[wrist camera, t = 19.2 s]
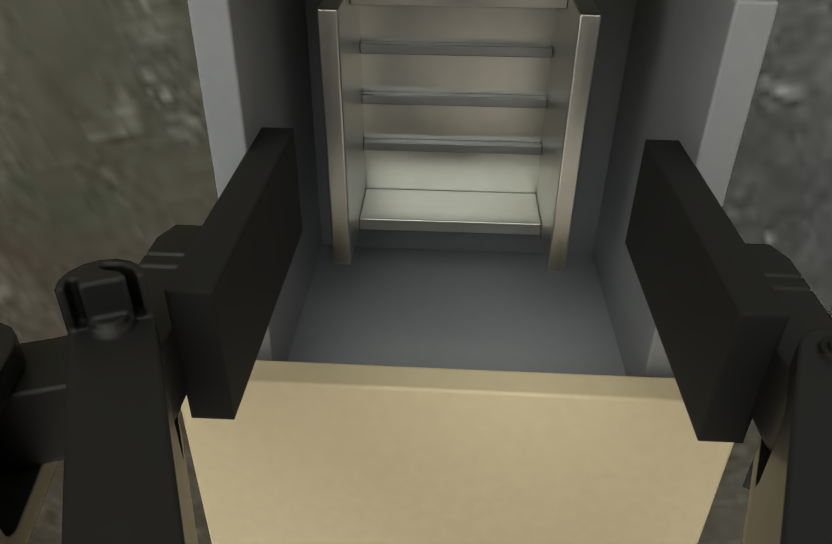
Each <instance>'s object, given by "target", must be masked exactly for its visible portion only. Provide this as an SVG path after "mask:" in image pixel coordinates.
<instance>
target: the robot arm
mask: <svg viewBox="0 0 832 544" xmlns="http://www.w3.org/2000/svg"><path fill="white" fill-rule="evenodd" d="M302 231H303V230H302V219H301V207H300V195H299V184H298V172H297V160H296V148H295V137H294V128H270V127H262V128H261V129H260V131H259V133H258V134H257V136H256V138H255V140H254V141H253V143H252V145H251V146H250V148H249V150H248V151H247V152H246V153H245V155H244V157H243V158H242V160H241V162H240V164H239V165H238V167H237V169H236V170H235V172H234V174H233V175H232V177H231V179H230V180H229V182H228V184H227V185H226V187H225V189H224V190H223V192H222V194H221V195H220V197H219V199H218V200H217V202H216V204H215V205H214V207H213V209H212V211H211V212H210V214H209V216H208V217H207V219H206V221H205V222H204V224H203V226H193V225H175V226H174V227H172V228H171V229H169V230H168V231H166V232H165V233H163V234H162V235H160V236H159V237H157V239H156V240H155V242H154V243H153V245H152V246H151V247H150V249H149V250H148V252H147V255H145V256H144V258H143V259H142V261H141V262H140V264H139V265H137V264H135V263H133V262H131V261H127V260H120V259H109V260H99V261H95V262H91V263H87V264H84V265H81V266H79V267H77V268H75V269H73V270H71V271H69V272H68V273H66V274H65V275H64V276H63V277H62V278H61V279H60V280H58V282H57V285H56V287H55V289H54V291H55V294H56V297H57V300H58V303H59V306H60V309H61V313H62V316H63V319H64V322H65V325H66V328H67V331H68V335H67V336H62V337H58V338H53V339H47V340H41V341H35V342H28V343H22V344H19V341H18V339H17V336H16V334H15V332H14V331H13V329H12V328H11V327H9V326H7V325H4V324H2V323H0V544H28V541H29V539H30V536H31V533H32V531H33V528H34V525H35V523H36V520H37V517H38V515H39V512H40V509H41V507H42V504H43V501H44V498H45V496H46V493H47V490H48V488H49V485H50V482H51V480H52V477H53V474H54V472H55V469H56V466H57V464H58V461H60V460H64V481H63V515H62V544H198V538H197V531H196V524H195V518H194V511H193V505H192V498H191V491H190V485H189V478H188V471H187V465H186V458H185V451H184V445H183V438H182V432H181V427H180V422H179V418H178V413H179V410H180V408H181V406H182V404H183V402H184V399H185V397H186V395H187V399H188V403H189V408H190V412H191V417H192V418H207V419H228V420H235V417H236V414H237V411H238V408H239V406H240V403H241V400H242V397H243V395H244V392H245V389H246V386H247V383H248V381H249V378H250V375H251V372H252V370H253V367H254V364H255V361H256V359H257V356H258V353H259V350H260V347H261V345H262V342H263V339H264V336H265V334H266V331H267V328H268V325H269V323H270V320H271V317H272V314H273V311H274V309H275V306H276V303H277V300H278V298H279V295H280V292H281V289H282V286H283V284H284V281H285V278H286V275H287V273H288V270H289V267H290V264H291V262H292V259H293V256H294V253H295V250H296V248H297V245H298V242H299V239H300V237H301V234H302ZM625 244H626V247H627V249H628V252H629V255H630V258H631V260H632V263H633V266H634V269H635V271H636V274H637V277H638V279H639V282H640V285H641V288H642V290H643V293H644V296H645V298H646V301H647V304H648V307H649V309H650V312H651V315H652V317H653V320H654V323H655V326H656V328H657V331H658V334H659V336H660V339H661V342H662V345H663V347H664V350H665V353H666V356H667V358H668V361H669V364H670V366H671V369H672V372H673V375H674V377H675V380H676V383H677V385H678V388H679V391H680V394H681V396H682V399H683V402H684V404H685V407H686V410H687V413H688V415H689V418H690V421H691V423H692V426H693V429H694V432H695V434H696V437H697V440H698V441H710V442H732V443H743V441H744V438H745V436H746V433H747V430H748V428H749V425H750V422H751V420H752V418H753V420H754V422H755V424H756V426H757V429H758V431H759V433H760V435H761V437H762V438H761V440H760V443H759V446H758V448H757V451H756V453H755V456H754V458H753V461H752V463H751V466H750V469H749V471H748V474H747V476H746V479H745V481H744V484H743V487H744V488H747V489H750V490H749V497H748V504H747V511H746V518H745V525H744V532H743V539H742V544H832V318H831V317H830V315H829V314H828V313H827V311H826V310H825V308H824V307H823V306H822V304H821V303H820V301H819V300H818V299H817V297H816V296H815V294H814V293H813V292H810V287H809V286H808V284H807V283H806V282H805V280H804V279H803V278H801V274H800V273H799V272H798V270H797V269H796V267H795V266H794V265H793V263H792V262H791V260H790V259H789V258H787V257H786V256H784V255H783V254H782V253H780V252H779V251H777V250H776V249H774V248H773V247H772V246H770V245H766V244H745V243H744V241H743V240H742V238H741V237H740V235H739V234H738V232H737V230H736V229H735V227H734V226H733V224H732V222H731V221H730V219H729V218H728V216H727V215H726V213H725V211H724V210H723V208H722V207H721V205H720V203H719V202H718V200H717V199H716V197H715V196H714V194H713V192H712V191H711V189H710V188H709V186H708V185H707V183H706V181H705V180H704V178H703V177H702V175H701V173H700V172H699V170H698V169H697V167H696V166H695V165H694V164H693V162H692V160H691V159H690V157H689V156H688V154H687V152H686V151H685V149H684V148H683V146H682V144H681V143H680V141H679V140H651V139H646V140H645V145H644V150H643V155H642V160H641V165H640V170H639V175H638V180H637V185H636V190H635V195H634V200H633V205H632V210H631V215H630V220H629V225H628V230H627V235H626V240H625Z"/></svg>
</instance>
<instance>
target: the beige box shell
mask: <svg viewBox="0 0 832 544" xmlns="http://www.w3.org/2000/svg"><path fill="white" fill-rule="evenodd" d="M181 410H182V415H183V419H184V423H185V428H186V432H187V437H188V441H189V445H190V450H191V454H192V459H193V463H194V467H195V472H196V476H197V480H198V485H199V489H200V494H201V498H202V502H203V507H204V511H205V516H206V520H207V524H208V529H209V533H210V537H211V542H212V544H698V541H699V538H700V535H701V533H702V530H703V527H704V524H705V522H706V519H707V516H708V513H709V511H710V508H711V505H712V502H713V499H714V497H715V494H716V491H717V488H718V486H719V483H720V480H721V477H722V475H723V472H724V469H725V466H726V464H727V461H728V458H729V455H730V453H731V450H732V447H733V444H734V443H732V442H710V441H698V440H697V437H696V434H695V432H694V429H693V426H692V423H691V421H690V418H689V415H688V413H687V410H686V407H685V404H684V402H683V399H682V396H681V394H680V391H679V388H678V385H677V383H676V380H675V378H660V377H637V376H614V375H591V374H568V373H544V372H521V371H498V370H475V369H451V368H428V367H405V366H382V365H359V364H335V363H312V362H289V361H266V360H256V361H255V364H254V367H253V370H252V372H251V375H250V378H249V381H248V383H247V386H246V389H245V392H244V395H243V397H242V400H241V403H240V406H239V408H238V411H237V414H236V417H235V420H228V419H207V418H192V417H191V412H190V408H189V403H188V399H187V395H186V397H185V399H184V402H183V404H182V406H181Z"/></svg>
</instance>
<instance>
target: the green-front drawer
mask: <svg viewBox="0 0 832 544" xmlns="http://www.w3.org/2000/svg"><path fill="white" fill-rule="evenodd" d="M187 1H188V8H189V14H190V20H191V27H192V33H193V40H194V46H195V53H196V59H197V66H198V72H199V78H200V85H201V91H202V98H203V104H204V111H205V117H206V124H207V130H208V136H209V143H210V149H211V156H212V162H213V169H214V175H215V181H216V188H217V194H218V199H219V197H220V195H221V194H222V192H223V190H224V189H225V187H226V185H227V184H228V182H229V180H230V179H231V177H232V175H233V174H234V172H235V170H236V169H237V167H238V165H239V164H240V162H241V160H242V158H243V157H244V155H245V153H246V152H247V151H248V150H249V148H250V146H251V145H252V143H253V141H254V140H255V138H256V136H257V134H258V133H259V131H260V129H261V128H262V127H270V128H294V137H295V148H296V160H297V172H298V184H299V195H300V207H301V219H302V230H303V231H302V234H301V237H300V239H299V242H298V245H297V248H296V250H295V253H294V256H293V259H292V262H291V264H290V267H289V270H288V273H287V275H286V278H285V281H284V284H283V286H282V289H281V292H280V295H279V298H278V300H277V303H276V306H275V309H274V311H273V314H272V317H271V320H270V323H269V325H268V328H267V331H266V334H265V336H264V339H263V342H262V345H261V347H260V350H259V353H258V356H257V359H256V360H266V361H289V362H312V363H335V364H359V365H382V366H405V367H428V368H451V369H475V370H498V371H521V372H544V373H568V374H591V375H614V376H637V377H660V378H675V377H674V375H673V372H672V369H671V366H670V364H669V361H668V358H667V356H666V353H665V350H664V347H663V345H662V342H661V339H660V336H659V334H658V331H657V328H656V326H655V323H654V320H653V317H652V315H651V312H650V309H649V307H648V304H647V301H646V298H645V296H644V293H643V290H642V288H641V285H640V282H639V279H638V277H637V274H636V271H635V269H634V266H633V263H632V260H631V258H630V255H629V252H628V249H627V247H626V244H625V240H626V235H627V230H628V225H629V220H630V215H631V210H632V205H633V200H634V195H635V190H636V185H637V180H638V175H639V170H640V165H641V160H642V155H643V150H644V145H645V140H646V139H651V140H679V141H680V143H681V144H682V146H683V148H684V149H685V151H686V152H687V154H688V156H689V157H690V159H691V160H692V162H693V164H694V165H695V166H696V167H697V169H698V170H699V172H700V173H701V175H702V177H703V178H704V180H705V181H706V183H707V185H708V186H709V188H710V189H711V191H712V192H713V194H714V196H715V197H716V199H717V200H718V202H719V203H720V205H721V207H722V206H723V202H724V199H725V195H726V191H727V188H728V184H729V181H730V177H731V173H732V170H733V166H734V163H735V159H736V156H737V152H738V148H739V145H740V141H741V138H742V134H743V130H744V127H745V123H746V120H747V116H748V112H749V109H750V105H751V102H752V98H753V94H754V91H755V87H756V84H757V80H758V76H759V73H760V69H761V66H762V62H763V59H764V55H765V51H766V48H767V44H768V41H769V37H770V33H771V30H772V26H773V23H774V19H775V15H776V12H777V8H778V1H776V0H593V2H594V4H595V5H596V7H597V8H598V10H599V11H600V13H601V15H602V17H601V24H600V31H599V38H598V45H597V52H596V59H595V66H594V73H593V80H592V87H591V94H590V101H589V108H588V114H587V121H586V128H585V135H584V142H583V149H582V156H581V163H580V170H579V177H578V184H577V191H576V198H575V205H574V212H573V219H572V226H571V233H570V240H569V246H568V253H567V260H566V267H565V271H563V272H559V271H548V270H547V265H546V260H545V254H544V249H543V243H542V238H541V233H540V235H530V234H498V233H467V232H435V231H403V230H371V229H360V228H359V231H358V235H357V239H356V244H355V248H354V252H353V256H352V261H351V264H334V262H333V247H332V232H331V217H330V202H329V187H328V172H327V157H326V142H325V127H324V112H323V97H322V82H321V67H320V52H319V37H318V22H317V8H318V7H319V5H320V4H321V2H322V1H323V0H187Z"/></svg>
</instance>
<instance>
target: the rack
mask: <svg viewBox="0 0 832 544" xmlns="http://www.w3.org/2000/svg"><path fill="white" fill-rule="evenodd" d="M601 17H602V15H601V13H600V11H599V10H598V8H597V7H596V5H595V4H594V2H593V0H323V1H322V2H321V4H320V5H319V7H318V8H317V22H318V37H319V52H320V67H321V82H322V97H323V112H324V127H325V142H326V157H327V172H328V187H329V202H330V217H331V232H332V247H333V262H334V264H351V261H352V256H353V252H354V248H355V244H356V239H357V235H358V231H359V228H360V229H371V230H403V231H435V232H467V233H498V234H530V235H540V233H541V238H542V243H543V249H544V254H545V260H546V265H547V270H548V271H559V272H563V271H565V267H566V260H567V253H568V246H569V240H570V233H571V226H572V219H573V212H574V205H575V198H576V191H577V184H578V177H579V170H580V163H581V156H582V149H583V142H584V135H585V128H586V121H587V114H588V108H589V101H590V94H591V87H592V80H593V73H594V66H595V59H596V52H597V45H598V38H599V31H600V24H601Z"/></svg>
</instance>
